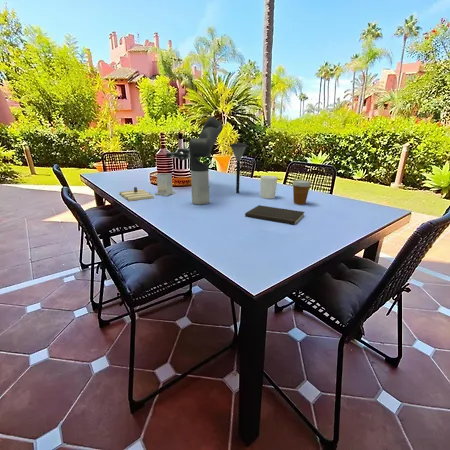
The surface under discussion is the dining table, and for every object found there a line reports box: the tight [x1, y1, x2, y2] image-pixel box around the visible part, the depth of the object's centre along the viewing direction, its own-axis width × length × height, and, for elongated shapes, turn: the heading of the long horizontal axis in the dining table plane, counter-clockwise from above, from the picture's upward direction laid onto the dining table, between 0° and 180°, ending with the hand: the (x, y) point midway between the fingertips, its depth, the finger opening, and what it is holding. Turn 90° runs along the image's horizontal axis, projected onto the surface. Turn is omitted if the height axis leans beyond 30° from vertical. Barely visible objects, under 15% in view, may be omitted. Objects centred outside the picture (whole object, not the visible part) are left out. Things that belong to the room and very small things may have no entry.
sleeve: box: [154, 172, 176, 197], centre depth 165 cm, size 9×9×12 cm
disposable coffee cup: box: [292, 179, 312, 206], centre depth 146 cm, size 10×10×12 cm
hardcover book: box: [244, 204, 305, 226], centre depth 125 cm, size 16×23×2 cm
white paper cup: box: [260, 175, 278, 200], centre depth 159 cm, size 10×10×12 cm
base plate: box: [119, 186, 155, 202], centre depth 159 cm, size 20×14×6 cm
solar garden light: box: [228, 142, 250, 194], centre depth 165 cm, size 12×12×30 cm
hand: (172, 156), depth 169 cm, fingers open, 8 cm apart
